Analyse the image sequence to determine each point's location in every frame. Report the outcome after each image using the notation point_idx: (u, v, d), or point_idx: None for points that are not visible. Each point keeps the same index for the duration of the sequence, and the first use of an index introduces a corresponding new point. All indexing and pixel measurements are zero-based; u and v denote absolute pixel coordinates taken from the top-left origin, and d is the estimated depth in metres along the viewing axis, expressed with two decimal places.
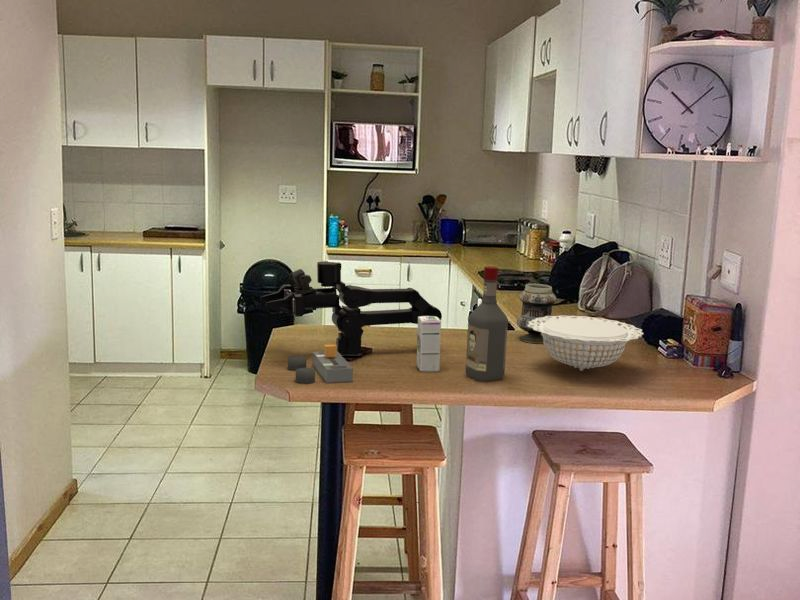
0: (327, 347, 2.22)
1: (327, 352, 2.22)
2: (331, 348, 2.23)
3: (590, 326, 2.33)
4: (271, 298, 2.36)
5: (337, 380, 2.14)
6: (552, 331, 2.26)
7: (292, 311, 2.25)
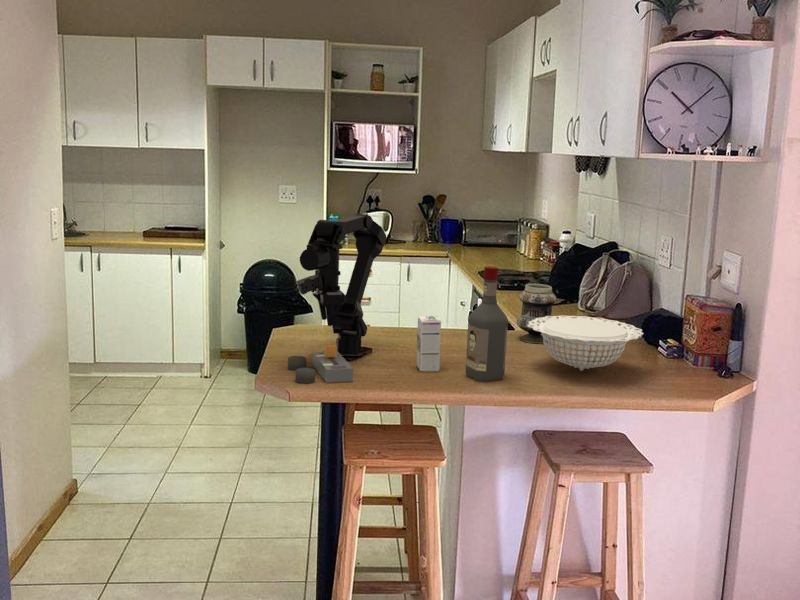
0: (327, 347, 2.22)
1: (327, 352, 2.22)
2: (331, 348, 2.23)
3: (590, 326, 2.33)
4: (324, 308, 2.30)
5: (337, 380, 2.14)
6: (552, 331, 2.26)
7: (339, 303, 2.19)
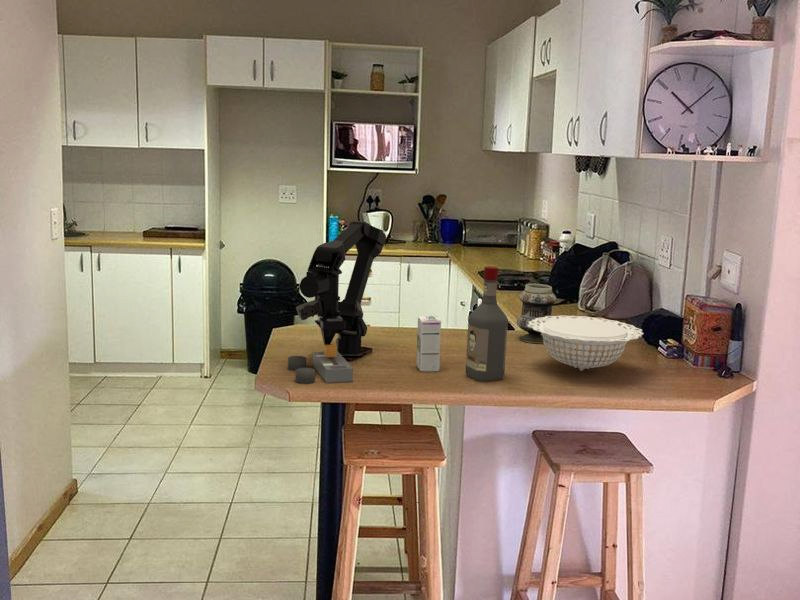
0: (327, 347, 2.22)
1: (327, 352, 2.22)
2: (331, 348, 2.23)
3: (590, 326, 2.33)
4: None
5: (337, 380, 2.14)
6: (552, 331, 2.26)
7: None
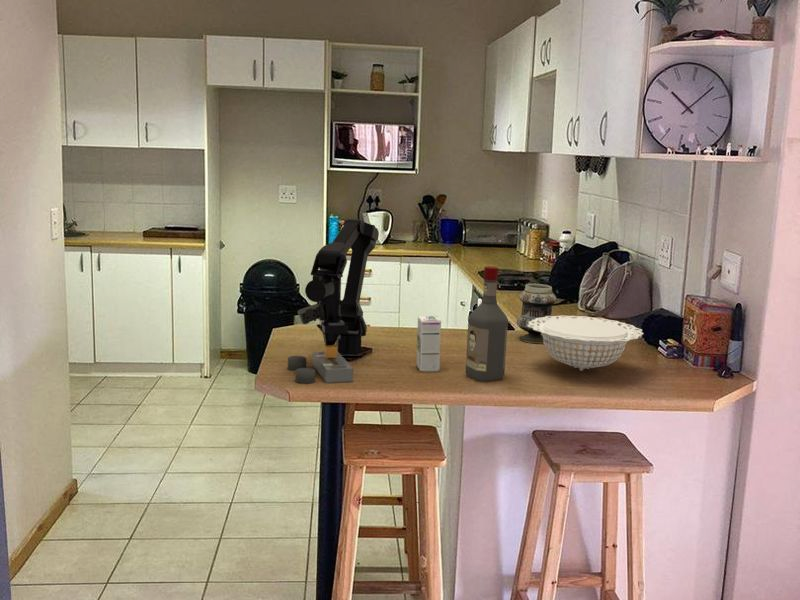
0: (327, 348, 2.22)
1: (327, 353, 2.22)
2: (331, 349, 2.22)
3: (590, 326, 2.33)
4: None
5: (337, 380, 2.14)
6: (552, 331, 2.26)
7: None
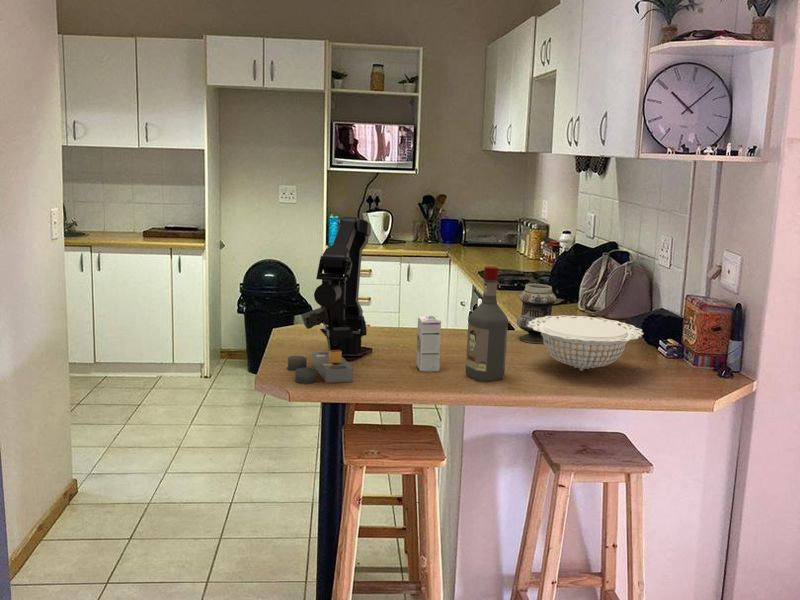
0: (332, 352, 2.17)
1: (332, 358, 2.17)
2: (336, 353, 2.17)
3: (590, 326, 2.33)
4: None
5: (337, 380, 2.14)
6: (552, 331, 2.26)
7: None
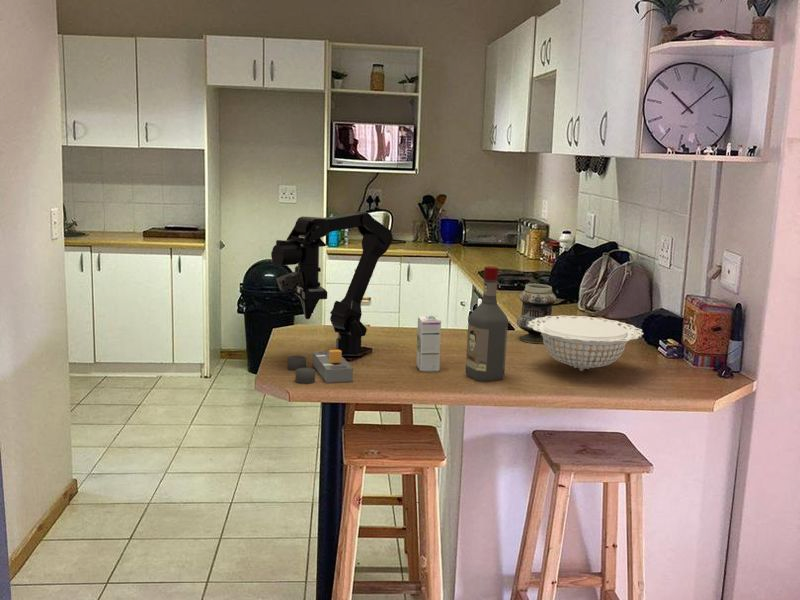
0: (332, 352, 2.17)
1: (332, 358, 2.17)
2: (336, 353, 2.17)
3: (590, 326, 2.33)
4: None
5: (337, 380, 2.14)
6: (552, 331, 2.26)
7: None
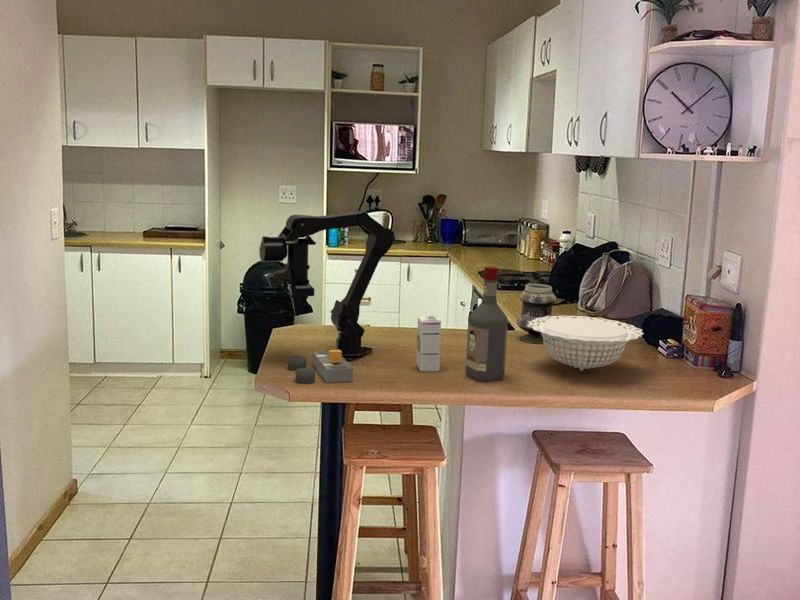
0: (332, 352, 2.17)
1: (332, 358, 2.17)
2: (336, 353, 2.17)
3: (590, 326, 2.33)
4: None
5: (337, 380, 2.14)
6: (552, 331, 2.26)
7: None
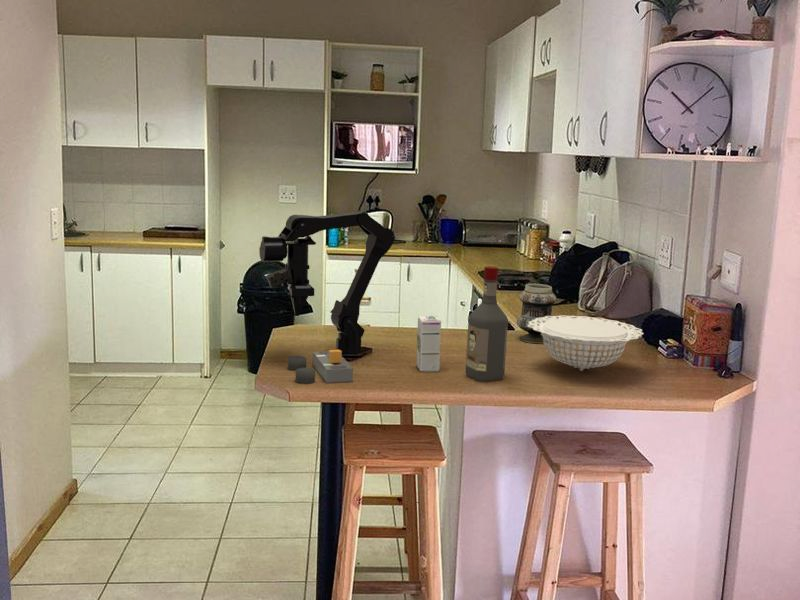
0: (332, 352, 2.17)
1: (332, 358, 2.17)
2: (336, 353, 2.17)
3: (590, 326, 2.33)
4: None
5: (337, 380, 2.14)
6: (552, 331, 2.26)
7: None
